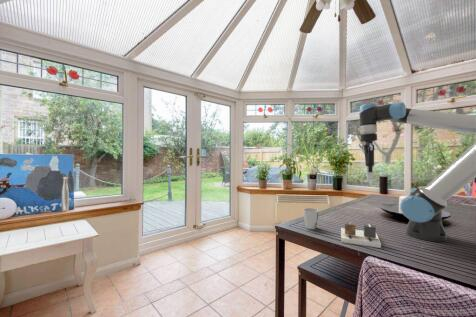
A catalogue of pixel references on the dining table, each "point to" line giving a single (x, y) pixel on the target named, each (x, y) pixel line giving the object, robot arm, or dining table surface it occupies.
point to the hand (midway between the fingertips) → (370, 178)
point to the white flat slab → (360, 239)
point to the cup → (310, 217)
